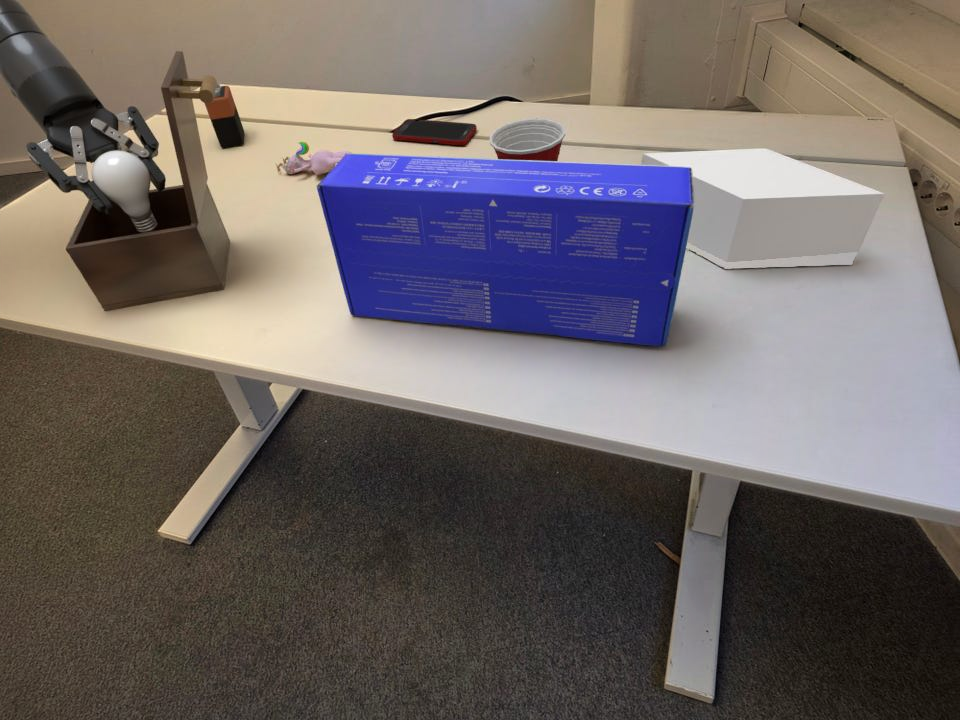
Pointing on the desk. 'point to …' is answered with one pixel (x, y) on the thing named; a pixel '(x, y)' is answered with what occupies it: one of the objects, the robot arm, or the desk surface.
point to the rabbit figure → (312, 161)
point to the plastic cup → (528, 140)
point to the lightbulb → (126, 186)
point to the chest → (151, 251)
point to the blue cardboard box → (511, 243)
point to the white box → (771, 205)
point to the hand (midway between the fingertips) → (137, 198)
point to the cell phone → (435, 132)
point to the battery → (225, 118)
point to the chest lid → (187, 128)
